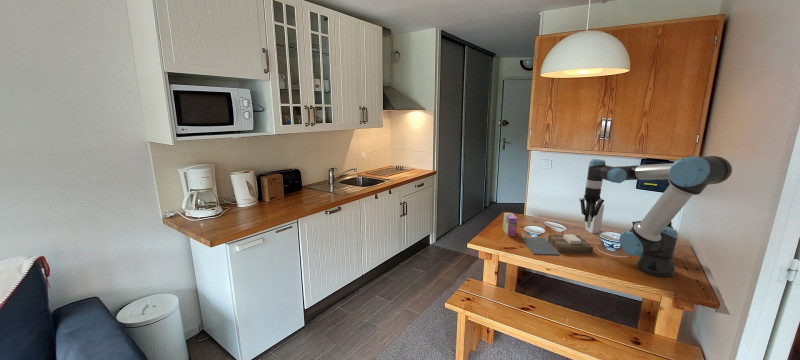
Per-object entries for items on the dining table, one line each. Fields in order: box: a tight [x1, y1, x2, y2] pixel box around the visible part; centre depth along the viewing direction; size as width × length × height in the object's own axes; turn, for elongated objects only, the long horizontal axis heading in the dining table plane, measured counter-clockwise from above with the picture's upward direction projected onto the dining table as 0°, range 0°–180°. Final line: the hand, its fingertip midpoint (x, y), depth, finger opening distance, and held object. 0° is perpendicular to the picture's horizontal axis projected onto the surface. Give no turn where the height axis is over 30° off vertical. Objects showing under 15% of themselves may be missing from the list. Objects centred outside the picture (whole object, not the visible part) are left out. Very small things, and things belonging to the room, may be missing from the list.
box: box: [502, 212, 519, 237], centre depth 210 cm, size 10×6×12 cm, turn 179°
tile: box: [562, 233, 581, 244], centre depth 189 cm, size 9×6×2 cm, turn 177°
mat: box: [521, 237, 561, 256], centre depth 191 cm, size 22×14×1 cm, turn 177°
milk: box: [585, 201, 605, 234], centre depth 211 cm, size 6×6×22 cm
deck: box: [547, 234, 594, 255], centre depth 190 cm, size 16×18×4 cm
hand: (587, 226), depth 187 cm, fingers closed
